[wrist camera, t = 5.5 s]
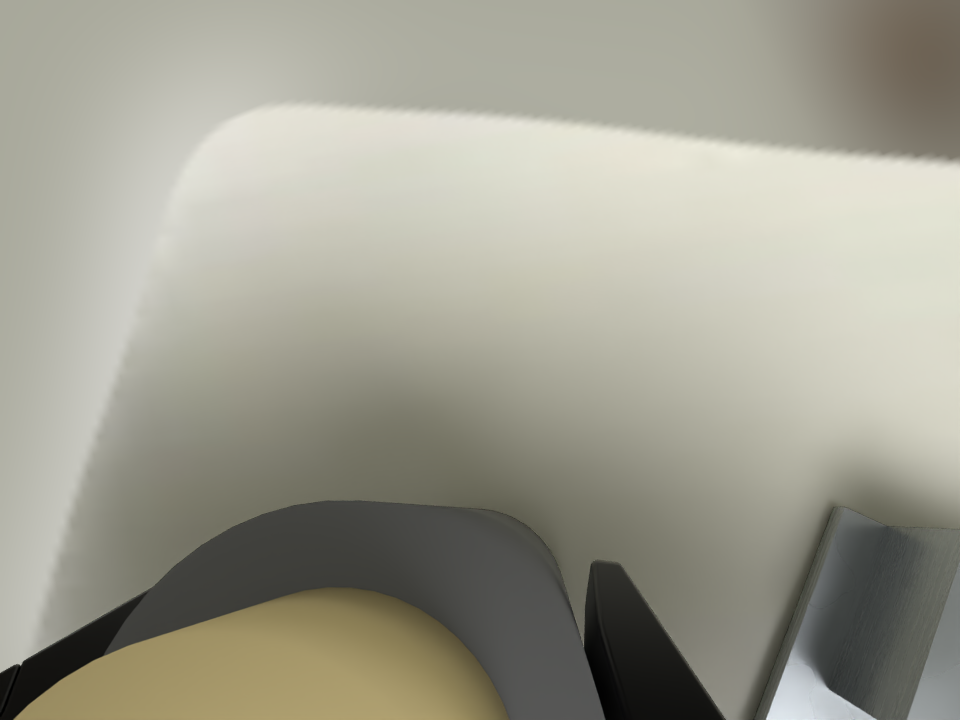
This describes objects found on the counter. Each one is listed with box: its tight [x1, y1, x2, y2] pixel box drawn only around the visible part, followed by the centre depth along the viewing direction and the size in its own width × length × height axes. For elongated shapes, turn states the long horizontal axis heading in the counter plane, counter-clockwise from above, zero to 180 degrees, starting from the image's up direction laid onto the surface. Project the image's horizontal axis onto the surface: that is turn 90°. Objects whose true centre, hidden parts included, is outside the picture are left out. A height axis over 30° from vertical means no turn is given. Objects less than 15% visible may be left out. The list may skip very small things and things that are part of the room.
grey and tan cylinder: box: [13, 501, 605, 720], centre depth 9 cm, size 4×4×13 cm
